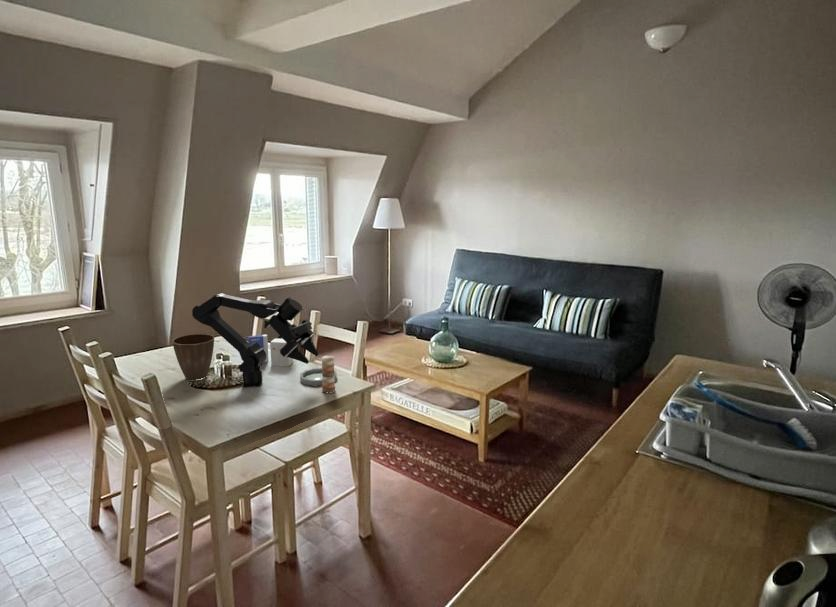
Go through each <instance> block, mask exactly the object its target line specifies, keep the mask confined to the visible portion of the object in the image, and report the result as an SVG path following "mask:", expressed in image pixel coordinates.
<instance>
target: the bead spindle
mask: <svg viewBox="0 0 836 607" xmlns="http://www.w3.org/2000/svg"><path fill="white" fill-rule="evenodd" d="M321 368H322V382H323V386H321V392H322V391H323V392H322V393H324V392H325V394H330V393H329V392H333V391H335V392H336V384H335V381H334V371H335V356H332V355H324V356H322V357H321ZM326 392H328V393H326ZM333 393H334V392H333Z"/></svg>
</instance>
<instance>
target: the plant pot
mask: <svg viewBox="0 0 836 607" xmlns="http://www.w3.org/2000/svg"><path fill="white" fill-rule="evenodd" d="M171 342H172V346H173V351H174V354H175V358H176V360H177V363H178V365H179V367H180V370H181V372H182V374H183V376H184V378H185V379H187V380H186V381H188V380H196V379H201V378H204V377H206V376H207V377H208V374H209V371H210V368H211V365H212V360H213V354H214V346H215V336H214V335H211V334H208V333H207V334H206V333H194V334H192V333H191V334H187V335H181V336H177V337H176V338H173V339H172V341H171ZM207 377H206V378H207Z"/></svg>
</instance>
